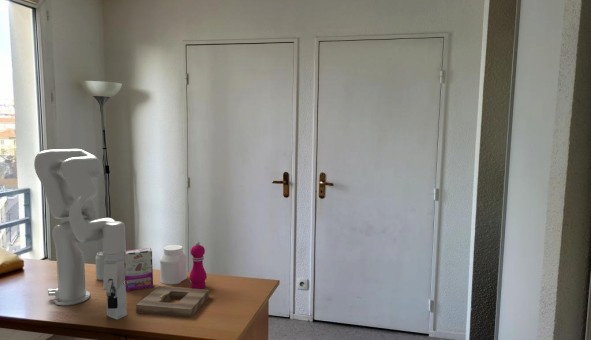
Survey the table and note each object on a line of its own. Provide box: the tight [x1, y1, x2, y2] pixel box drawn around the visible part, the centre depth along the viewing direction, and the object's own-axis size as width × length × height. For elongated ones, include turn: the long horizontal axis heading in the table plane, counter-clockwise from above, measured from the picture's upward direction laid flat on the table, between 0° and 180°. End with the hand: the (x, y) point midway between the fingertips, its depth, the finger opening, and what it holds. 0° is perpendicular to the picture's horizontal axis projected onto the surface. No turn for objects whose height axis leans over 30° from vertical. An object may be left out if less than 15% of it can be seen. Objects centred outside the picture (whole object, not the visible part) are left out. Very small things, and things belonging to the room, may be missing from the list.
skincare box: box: [105, 283, 127, 321], centre depth 146 cm, size 6×4×12 cm
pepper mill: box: [189, 241, 208, 289], centre depth 174 cm, size 7×7×20 cm
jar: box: [159, 244, 188, 286], centre depth 181 cm, size 12×10×15 cm
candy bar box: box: [124, 247, 154, 292], centre depth 172 cm, size 11×5×16 cm, turn 114°
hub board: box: [135, 285, 210, 318], centre depth 157 cm, size 18×22×3 cm
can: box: [94, 250, 105, 282], centre depth 182 cm, size 8×8×12 cm
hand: (116, 303), depth 147 cm, fingers closed on skincare box, 6 cm apart
